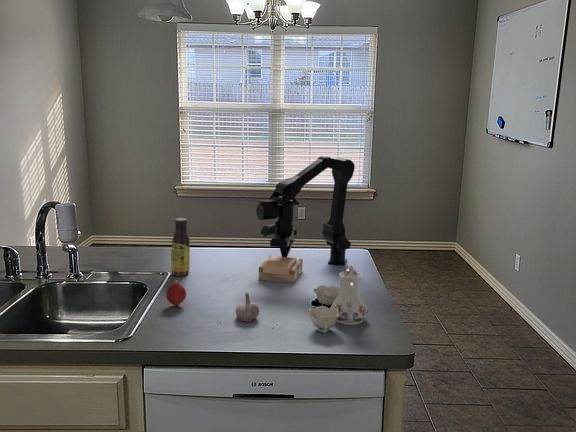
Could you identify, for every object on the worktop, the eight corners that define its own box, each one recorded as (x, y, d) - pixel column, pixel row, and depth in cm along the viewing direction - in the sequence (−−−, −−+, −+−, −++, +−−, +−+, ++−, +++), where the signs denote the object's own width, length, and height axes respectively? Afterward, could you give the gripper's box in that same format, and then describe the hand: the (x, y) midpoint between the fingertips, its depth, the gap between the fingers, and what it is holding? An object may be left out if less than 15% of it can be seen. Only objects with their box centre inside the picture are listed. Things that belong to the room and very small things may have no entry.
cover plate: (272, 262, 201) (272, 255, 200) (296, 264, 199) (296, 258, 198) (262, 272, 190) (262, 265, 189) (288, 275, 187) (288, 268, 187)
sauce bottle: (167, 275, 194) (166, 219, 190) (177, 270, 200) (176, 216, 195) (184, 277, 192) (182, 221, 187) (193, 272, 197) (192, 218, 193)
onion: (169, 310, 163) (168, 284, 161) (164, 304, 168) (163, 278, 166) (188, 307, 165) (188, 282, 164) (183, 301, 170) (182, 276, 169)
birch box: (269, 267, 205) (269, 255, 204) (302, 270, 202) (302, 258, 201) (258, 279, 191) (258, 267, 190) (293, 283, 189) (294, 270, 188)
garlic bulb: (249, 326, 154) (249, 298, 152) (228, 320, 157) (228, 293, 156) (265, 317, 160) (265, 290, 158) (244, 311, 164) (244, 285, 162)
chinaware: (310, 304, 174) (306, 253, 171) (364, 301, 173) (361, 250, 170) (310, 344, 147) (305, 284, 144) (373, 340, 146) (370, 280, 143)
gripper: (270, 210, 208) (269, 250, 211) (255, 221, 190) (255, 265, 194) (299, 212, 205) (298, 253, 209) (287, 224, 188) (286, 268, 191)
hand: (284, 259), depth 201 cm, fingers closed
